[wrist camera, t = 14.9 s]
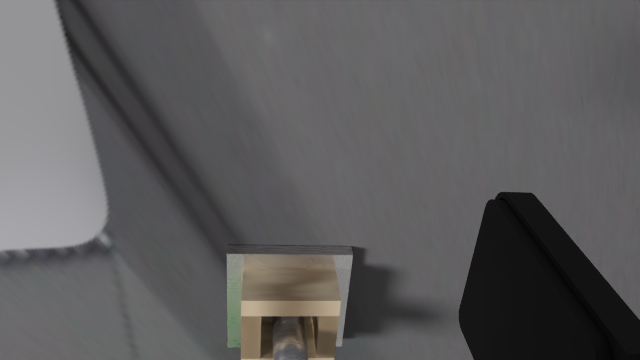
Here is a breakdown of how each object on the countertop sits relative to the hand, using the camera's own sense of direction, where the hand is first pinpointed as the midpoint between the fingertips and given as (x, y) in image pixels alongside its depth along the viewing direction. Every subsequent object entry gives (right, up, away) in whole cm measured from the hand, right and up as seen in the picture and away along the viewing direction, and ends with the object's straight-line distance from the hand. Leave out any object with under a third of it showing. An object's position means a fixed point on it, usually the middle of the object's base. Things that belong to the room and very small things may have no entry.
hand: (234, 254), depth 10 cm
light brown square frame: (-1, -9, +36) cm, 37 cm away
